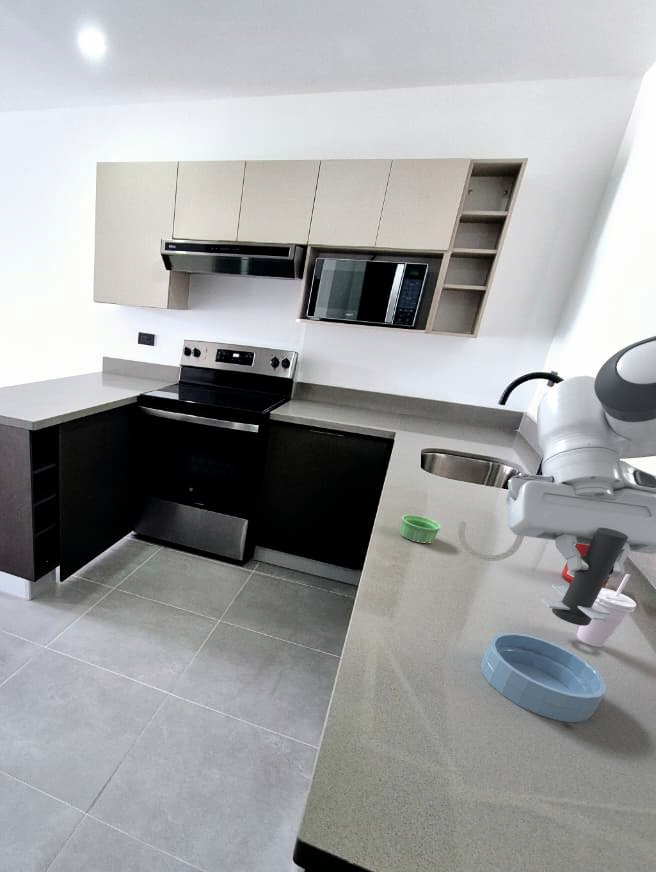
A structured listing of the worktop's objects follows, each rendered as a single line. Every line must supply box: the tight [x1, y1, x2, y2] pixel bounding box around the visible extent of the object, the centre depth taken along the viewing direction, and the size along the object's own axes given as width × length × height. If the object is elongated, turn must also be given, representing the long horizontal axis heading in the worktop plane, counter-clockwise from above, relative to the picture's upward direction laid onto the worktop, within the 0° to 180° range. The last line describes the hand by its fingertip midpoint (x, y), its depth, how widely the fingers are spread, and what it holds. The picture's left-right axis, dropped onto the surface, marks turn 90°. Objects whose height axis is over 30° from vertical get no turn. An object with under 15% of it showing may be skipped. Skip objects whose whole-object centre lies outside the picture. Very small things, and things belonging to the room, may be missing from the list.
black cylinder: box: [540, 528, 628, 626], centre depth 67 cm, size 8×8×13 cm
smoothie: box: [576, 573, 637, 648], centre depth 86 cm, size 6×6×14 cm
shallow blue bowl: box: [479, 632, 608, 723], centre depth 74 cm, size 14×14×5 cm
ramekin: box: [399, 514, 442, 543], centre depth 125 cm, size 9×9×4 cm
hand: (596, 573), depth 67 cm, fingers closed on black cylinder, 3 cm apart
